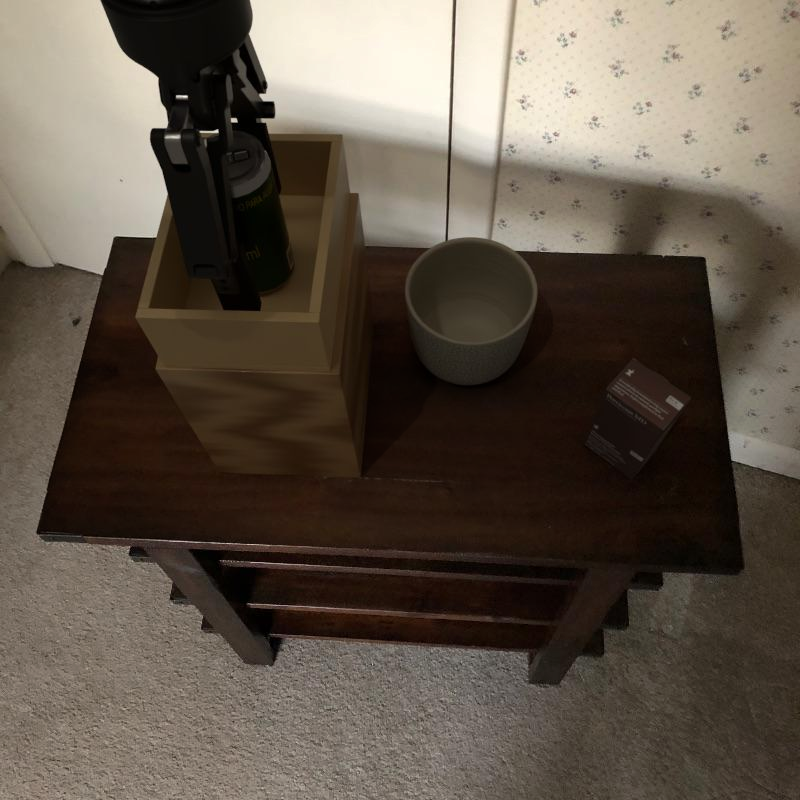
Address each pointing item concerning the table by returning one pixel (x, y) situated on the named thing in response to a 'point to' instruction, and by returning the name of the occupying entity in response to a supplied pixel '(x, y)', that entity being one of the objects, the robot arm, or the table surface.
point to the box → (634, 418)
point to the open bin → (280, 310)
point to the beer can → (258, 213)
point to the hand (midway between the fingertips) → (253, 246)
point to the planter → (469, 308)
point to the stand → (291, 394)
